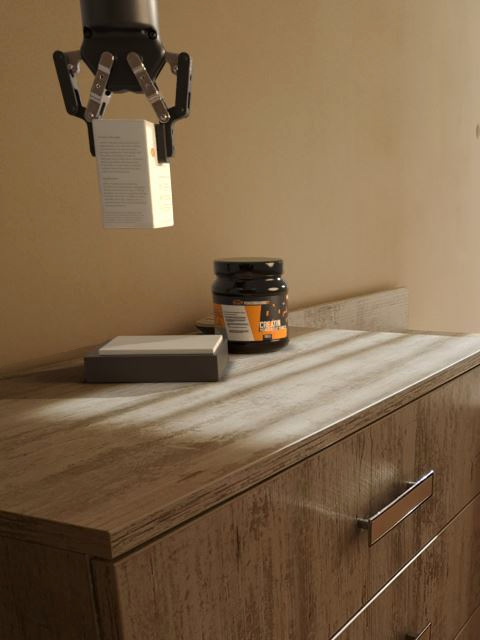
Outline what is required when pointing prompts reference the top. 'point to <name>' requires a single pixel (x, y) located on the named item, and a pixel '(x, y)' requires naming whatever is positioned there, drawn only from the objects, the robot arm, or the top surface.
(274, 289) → the supplement container
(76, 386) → the top surface
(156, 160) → the small box
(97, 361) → the scale
